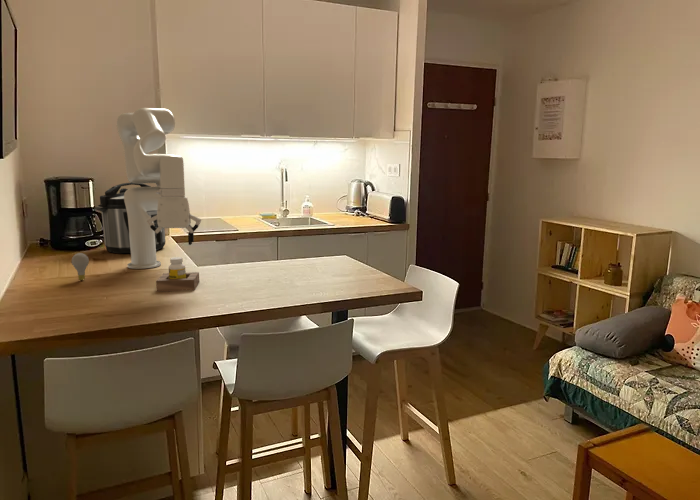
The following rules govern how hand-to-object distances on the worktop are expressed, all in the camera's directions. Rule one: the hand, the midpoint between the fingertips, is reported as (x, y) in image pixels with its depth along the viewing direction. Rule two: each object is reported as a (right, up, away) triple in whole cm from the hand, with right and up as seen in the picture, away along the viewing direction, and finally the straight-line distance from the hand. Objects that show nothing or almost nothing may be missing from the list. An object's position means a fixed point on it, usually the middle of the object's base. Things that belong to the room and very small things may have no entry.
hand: (175, 244), depth 185 cm
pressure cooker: (-43, -2, +77) cm, 88 cm away
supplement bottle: (0, -15, +2) cm, 15 cm away
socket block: (+1, -14, +2) cm, 14 cm away
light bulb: (-37, -13, +12) cm, 41 cm away
